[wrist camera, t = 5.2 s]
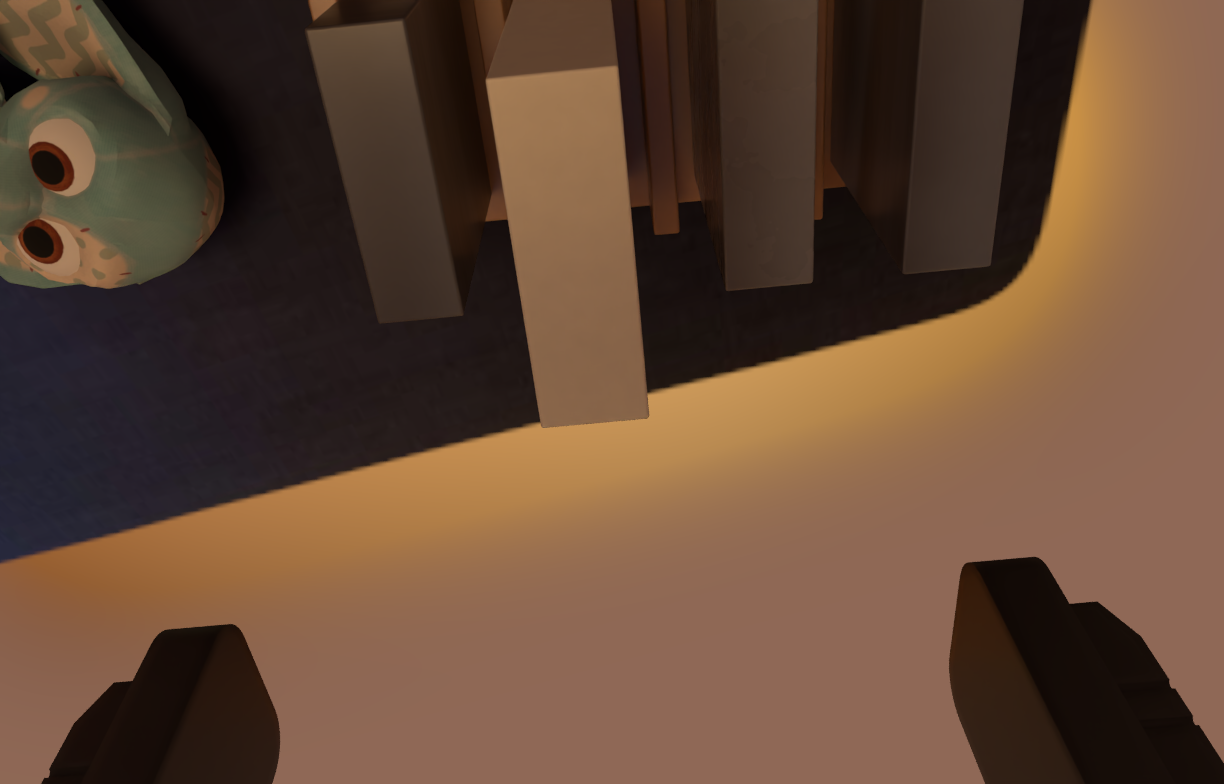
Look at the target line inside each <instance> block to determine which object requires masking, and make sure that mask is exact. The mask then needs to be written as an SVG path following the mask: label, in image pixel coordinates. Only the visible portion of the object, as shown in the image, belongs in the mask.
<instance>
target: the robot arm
mask: <svg viewBox="0 0 1224 784" xmlns="http://www.w3.org/2000/svg"><path fill="white" fill-rule="evenodd" d="M949 673H950V683H951V689H952V695H953V699H954V703H955V707H956V710H957V713H958V716H959V719H960V722H961V724H962V727H963V729H964V732H965V734H966V736H967V739H968V742H969V744H970V747H971V749H972V752H973V754H974V757H975V759H976V762H977V764H978V767H979V769H980V772H981V774H982V776H983V779H984V782H985V784H1224V763H1223V762H1222V760H1221V758H1220V757H1219V755H1218V754H1217V752H1216V751H1215V749H1214V748H1213V746H1212V744H1211V743H1210V741H1209V740H1208V738H1207V737H1206V735H1205V734H1204V732H1203V731H1202V729H1201V728H1200V726H1199V725H1195V724H1194V722H1193V715H1192V714H1191V712H1190V711H1189V709H1188V708H1187V706H1186V705H1185V703H1184V702H1183V700H1182V698H1181V697H1180V695H1179V694H1178V692H1177V691H1176V689H1172V688H1171V687H1170V684H1169V678H1168V677H1167V675H1166V674H1165V672H1164V671H1163V669H1162V668H1161V666H1160V665H1159V663H1158V662H1157V660H1156V659H1155V657H1154V655H1153V654H1152V652H1151V651H1150V650H1149V648H1148V647H1147V645H1146V643H1145V642H1144V640H1143V639H1142V637H1141V636H1140V635H1138V634H1137V633H1136V632H1135V631H1133V630H1132V629H1131V628H1130V627H1128V626H1127V625H1126V624H1125V623H1123V622H1122V621H1121V620H1120V619H1118V618H1117V617H1116V616H1115V615H1113V614H1112V613H1111V612H1110V611H1108V610H1107V609H1106V608H1105V607H1103V606H1102V605H1101V604H1100V603H1098V602H1086V603H1075V604H1069V602H1068V601H1067V599H1066V597H1065V595H1064V594H1063V592H1062V590H1061V589H1060V587H1059V585H1058V584H1057V582H1056V580H1055V578H1054V577H1053V575H1052V573H1051V572H1050V570H1049V569H1048V567H1047V566H1046V564H1045V563H1044V562H1043V561H1042V560H1041V559H1039V558H1037V557H1028V558H1016V559H1005V560H994V561H981V562H970V563H966V564H965V565H964V566H963V568H962V571H961V575H960V581H959V589H958V597H957V604H956V611H955V620H954V627H953V635H952V642H951V649H950V658H949ZM279 749H280V731H279V722H278V718H277V714H276V711H275V709H274V706H273V704H272V701H271V699H270V697H269V694H268V692H267V689H266V687H265V685H264V683H263V680H262V678H261V675H260V673H259V671H258V668H257V666H256V663H255V661H254V659H253V656H252V654H251V652H250V650H249V647H248V645H247V642H246V640H245V638H244V636H243V633H242V632H241V630H240V629H239V628H238V627H237V626H235V625H233V624H228V625H215V626H205V627H193V628H181V629H171V630H170V629H169V630H164V631H162V632H161V633H159V634H158V635H157V637H156V638H155V639H154V641H153V642H152V644H151V646H150V648H149V650H148V652H147V654H146V656H145V658H144V660H143V662H142V664H141V666H140V668H139V669H138V672H137V673H136V675H135V678H134V679H133V681H128V682H116V683H113V684H112V685H111V686H110V687H109V688H108V689H107V690H106V692H104V693H103V694H102V695H101V696H100V698H99V699H98V700H97V701H96V702H95V703H94V704H93V705H92V706H91V707H90V708H89V709H88V710H87V711H86V712H85V713H84V714H83V715H82V716H81V717H80V718H79V719H78V720H77V721H76V722H75V723H74V725H73V727H72V728H71V730H70V732H69V734H68V736H67V737H66V740H65V741H64V743H63V745H62V747H61V748H60V750H59V752H58V754H57V756H56V758H55V759H54V761H53V763H52V765H51V767H50V769H49V770H50V776H49V778H44V780H43V781H42V784H272V782H273V779H274V776H275V772H276V769H277V764H278V759H279Z"/></svg>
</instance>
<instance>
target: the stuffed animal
mask: <svg viewBox="0 0 1224 784" xmlns="http://www.w3.org/2000/svg"><path fill="white" fill-rule="evenodd" d="M0 54H1V55H2V56H3V57H4V58H6V59H7V60H8V61H9V62H10V63H12V64H13V65H15V66H16V67H18V68H20V69H21V70H23V71H24V72H26V73H28V74H29V75H31V76H33V77H34V78H36V79H38V80H39V81H37V82H35V83H34V84H32V85H30V86H28V87H27V88H25V89H23V90H22V91H20V92H18V93H16V94H15V95H13V96H12V97H11V98H10V99H9V101H8V102H6V100H5V99H4V97H5V94H4V90H3V88H2V86H1V84H0V276H2V277H3V278H4V279H5V280H7V281H8V282H10V283H16V284H21V285H27V286H33V287H38V288H51V287H59V286H67V285H75V284H85V285H88V286H90V287H101V288H106V289H110V288H116V287H122V286H126V285H130V284H134V283H137V284H142V283H144V282H146V281H148V280H150V279H152V278H154V277H157V276H160V275H162V274H164V273H167V272H169V271H171V270H173V269H175V268H176V267H178V266H180V265H181V264H183V263H185V262H186V261H187V260H188V259H189V258H190V257H191V256H192V255H193V254H194V253H195V252H196V251H197V250H198V249H199V248H200V247H201V246H202V245H203V243H204V242H205V241H206V240H207V239H208V238H209V237H210V235H211V234H212V232H213V231H214V230H215V228H216V227H217V225H218V223H219V221H220V218H221V215H222V213H223V206H224V187H223V179H222V173H221V167H220V165H219V163H218V161H217V159H216V157H215V155H214V153H213V151H212V149H211V148H210V146H209V144H208V142H207V140H206V139H205V137H204V135H203V133H202V132H201V131H200V130H199V128H198V127H197V126H196V125H195V123H194V122H193V121H192V120H191V119H190V118H188V117H187V114H186V111H185V107H184V104H183V100H182V98H181V97H180V95H179V94H178V92H177V91H176V89H175V88H174V86H173V85H172V83H171V82H170V80H169V79H168V77H167V76H166V74H165V73H164V71H163V70H162V68H161V67H160V66H159V65H158V64H157V63H156V62H155V61H154V60H153V59H152V58H151V57H150V56H149V55H148V54H147V53H146V52H145V51H144V50H143V49H142V48H141V47H140V46H139V45H138V44H137V43H136V42H135V41H134V40H133V39H132V38H131V37H130V36H129V35H128V34H127V32H126V31H125V30H124V29H123V27H122V26H121V25H120V23H119V22H118V21H117V19H116V18H115V17H114V15H113V14H112V13H111V11H110V10H109V9H108V7H107V6H106V5H105V3H104V2H103V1H102V0H0Z"/></svg>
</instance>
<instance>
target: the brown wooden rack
mask: <svg viewBox="0 0 1224 784" xmlns="http://www.w3.org/2000/svg"><path fill="white" fill-rule="evenodd" d="M308 3H309V7H310V11H311V15H312V19H313V22H312V23H311V24H310V25H309V26H308V27H306V28H305V35H306V39H307V43H308V46H309V50H310V54H311V58H312V62H313V66H314V70H315V74H316V78H317V82H318V86H319V90H320V94H321V98H322V102H323V106H324V110H325V114H326V118H327V122H328V125H329V129H330V133H331V137H332V141H333V145H334V149H335V153H336V157H337V161H338V165H339V169H340V173H341V177H342V181H343V185H344V189H345V193H346V197H347V200H348V204H349V208H350V212H351V216H352V220H353V224H354V228H355V232H356V236H357V240H358V244H359V248H360V252H361V256H362V260H363V264H364V268H365V272H366V276H367V279H368V283H369V287H370V291H371V295H372V299H373V303H374V307H375V311H376V315H377V319H378V322H379V323H390V322H401V321H411V320H422V319H433V318H443V317H454V316H462V315H463V314H464V310H465V306H466V301H467V297H468V293H469V289H470V284H471V280H472V276H473V272H474V267H475V263H476V259H477V254H478V250H479V246H480V242H481V237H482V233H483V229H484V225H485V221H495V220H505V219H508V217H507V211H506V205H505V199H504V193H503V186H502V180H501V174H500V168H499V162H498V155H497V149H496V143H495V137H494V131H493V124H492V118H491V112H490V106H489V100H488V93H487V87H486V78H487V75H488V72H489V69H490V66H491V63H492V61H493V58H494V55H495V52H496V49H497V46H498V43H499V40H500V37H501V34H502V32H503V29H504V26H505V23H506V20H507V17H508V14H509V11H510V8H511V5H512V3H513V0H308ZM611 4H612V13H613V23H614V32H615V41H616V50H617V59H618V69H619V80H620V91H621V103H622V114H623V125H624V137H625V148H626V159H627V171H628V182H629V193H630V205H631V207H639V206H649V205H650V210H651V217H652V223H653V230H654V234H655V235H661V234H672V233H678V232H679V231H680V226H679V210H678V203H680V202H691V201H701V202H702V206H703V209H704V213H705V217H706V220H707V224H708V228H709V231H710V235H711V239H712V242H713V246H714V250H715V253H716V257H717V261H718V264H719V268H720V272H721V275H722V279H723V283H724V286H725V289H726V290H727V291H731V290H742V289H752V288H763V287H774V286H784V285H795V284H806V283H812V281H813V257H814V220H817V219H822V217H823V189H824V188H835V187H845V186H846V187H847V188H848V190H849V191H850V193H851V194H852V196H853V197H854V199H855V201H856V202H857V204H858V205H859V207H860V208H861V210H862V211H863V213H864V214H865V216H866V218H867V219H868V221H869V222H870V224H871V225H872V227H873V228H874V230H875V232H876V233H877V235H878V236H879V238H880V239H881V241H882V242H883V244H884V246H885V247H886V249H887V250H888V252H889V253H890V255H891V256H892V258H893V260H894V261H895V263H896V264H897V266H898V267H899V269H900V270H901V272H902V273H903V274H912V273H922V272H933V271H944V270H954V269H965V268H976V267H986V266H990V264H991V257H992V249H993V241H994V233H995V225H996V217H997V209H998V201H999V193H1000V186H1001V178H1002V170H1003V162H1004V154H1005V146H1006V138H1007V130H1008V122H1009V115H1010V107H1011V99H1012V91H1013V83H1014V75H1015V67H1016V59H1017V51H1018V44H1019V36H1020V28H1021V20H1022V12H1023V4H1024V0H611Z"/></svg>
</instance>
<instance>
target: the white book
mask: <svg viewBox="0 0 1224 784" xmlns="http://www.w3.org/2000/svg"><path fill="white" fill-rule="evenodd" d="M486 87H487V93H488V100H489V106H490V112H491V118H492V124H493V131H494V137H495V143H496V149H497V155H498V162H499V168H500V174H501V180H502V186H503V193H504V199H505V205H506V211H507V217H508V224H509V230H510V236H511V242H512V248H513V254H514V261H515V267H516V273H517V279H518V285H519V292H520V298H521V304H522V310H523V316H524V323H525V329H526V335H527V341H528V347H529V354H530V360H531V366H532V372H533V378H534V385H535V391H536V397H537V403H538V409H539V416H540V422H541V426H542V427H543V428H547V427H557V426H569V425H580V424H592V423H603V422H613V421H625V420H635V419H647V418H648V417H649V409H648V397H647V386H646V374H645V363H644V352H643V340H642V329H641V318H640V307H639V295H638V284H637V273H636V261H635V250H634V239H633V227H632V216H631V205H630V193H629V182H628V171H627V159H626V148H625V137H624V125H623V114H622V103H621V91H620V80H619V69H618V59H617V50H616V41H615V32H614V23H613V13H612V4H611V0H513V3H512V5H511V8H510V11H509V14H508V17H507V20H506V23H505V26H504V29H503V32H502V34H501V37H500V40H499V43H498V46H497V49H496V52H495V55H494V58H493V61H492V63H491V66H490V69H489V72H488V75H487V78H486Z"/></svg>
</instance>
